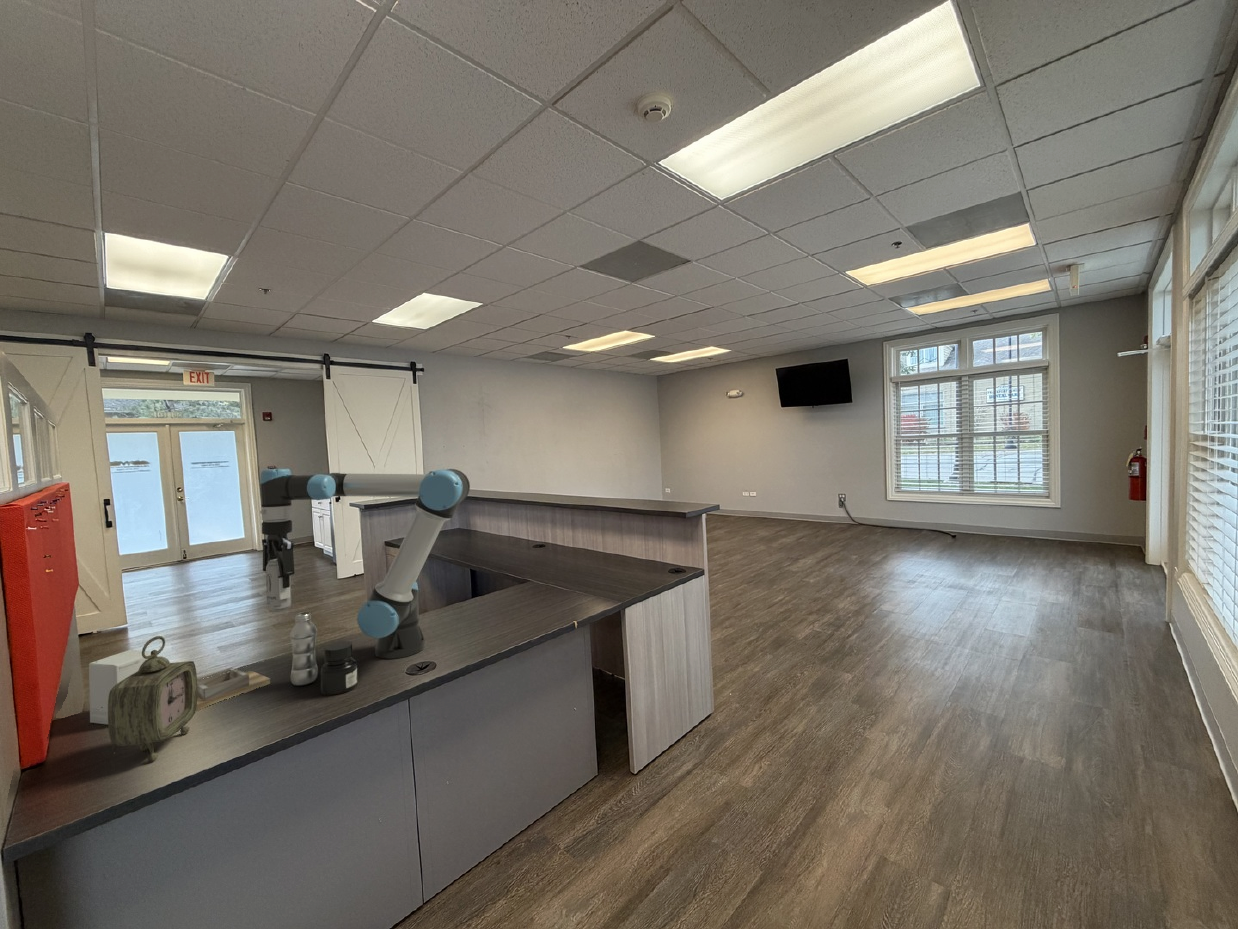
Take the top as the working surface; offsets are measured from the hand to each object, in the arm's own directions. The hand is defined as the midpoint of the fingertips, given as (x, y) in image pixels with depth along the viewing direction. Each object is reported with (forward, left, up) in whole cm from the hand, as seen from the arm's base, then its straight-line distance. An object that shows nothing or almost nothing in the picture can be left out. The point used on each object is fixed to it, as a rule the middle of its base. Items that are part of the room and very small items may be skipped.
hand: (279, 596), depth 150 cm
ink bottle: (-26, -2, -23) cm, 35 cm away
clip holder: (0, +16, -23) cm, 28 cm away
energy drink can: (0, 0, -4) cm, 4 cm away
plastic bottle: (-14, +1, -23) cm, 27 cm away
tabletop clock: (-18, +35, -23) cm, 45 cm away
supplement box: (+8, +33, -23) cm, 41 cm away
